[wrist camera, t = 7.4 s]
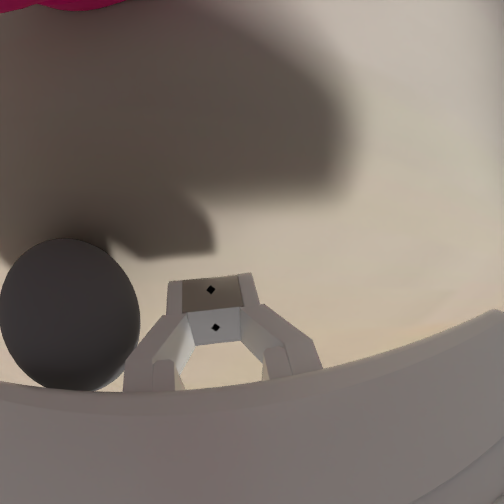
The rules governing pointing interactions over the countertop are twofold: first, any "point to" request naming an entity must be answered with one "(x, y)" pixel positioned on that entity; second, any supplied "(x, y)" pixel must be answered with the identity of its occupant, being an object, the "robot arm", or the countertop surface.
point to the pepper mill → (57, 4)
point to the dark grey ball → (69, 315)
